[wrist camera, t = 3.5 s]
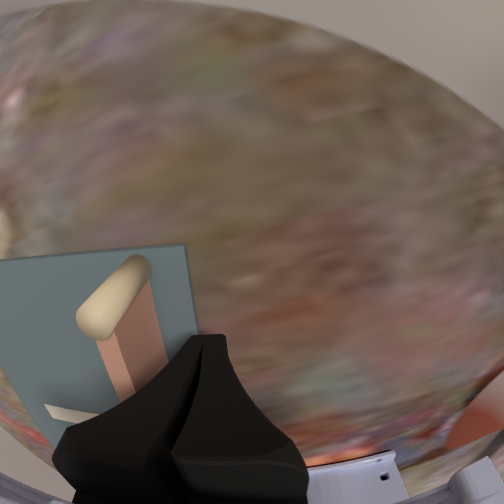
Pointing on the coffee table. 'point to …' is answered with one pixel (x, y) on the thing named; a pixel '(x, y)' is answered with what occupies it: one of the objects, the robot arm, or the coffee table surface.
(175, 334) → the card
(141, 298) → the fence panel
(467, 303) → the coffee table surface
